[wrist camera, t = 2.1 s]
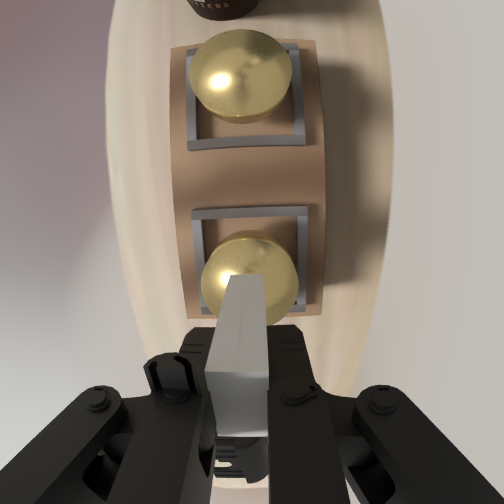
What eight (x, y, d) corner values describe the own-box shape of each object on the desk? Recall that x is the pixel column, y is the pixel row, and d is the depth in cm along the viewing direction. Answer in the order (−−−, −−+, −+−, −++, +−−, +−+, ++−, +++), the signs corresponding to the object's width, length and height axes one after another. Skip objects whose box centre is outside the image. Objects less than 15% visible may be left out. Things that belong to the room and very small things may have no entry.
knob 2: (205, 231, 16) (196, 241, 13) (292, 228, 15) (299, 238, 13) (212, 310, 17) (206, 329, 15) (292, 307, 17) (297, 327, 14)
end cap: (270, 445, 31) (271, 483, 25) (221, 447, 32) (217, 483, 25) (263, 403, 29) (264, 448, 22) (205, 406, 29) (196, 448, 23)
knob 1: (198, 52, 13) (189, 34, 10) (284, 47, 12) (288, 28, 10) (199, 127, 14) (189, 119, 12) (289, 123, 14) (295, 113, 11)
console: (187, 71, 19) (167, 43, 13) (303, 65, 19) (317, 34, 13) (199, 291, 25) (184, 325, 19) (309, 288, 24) (324, 321, 19)
